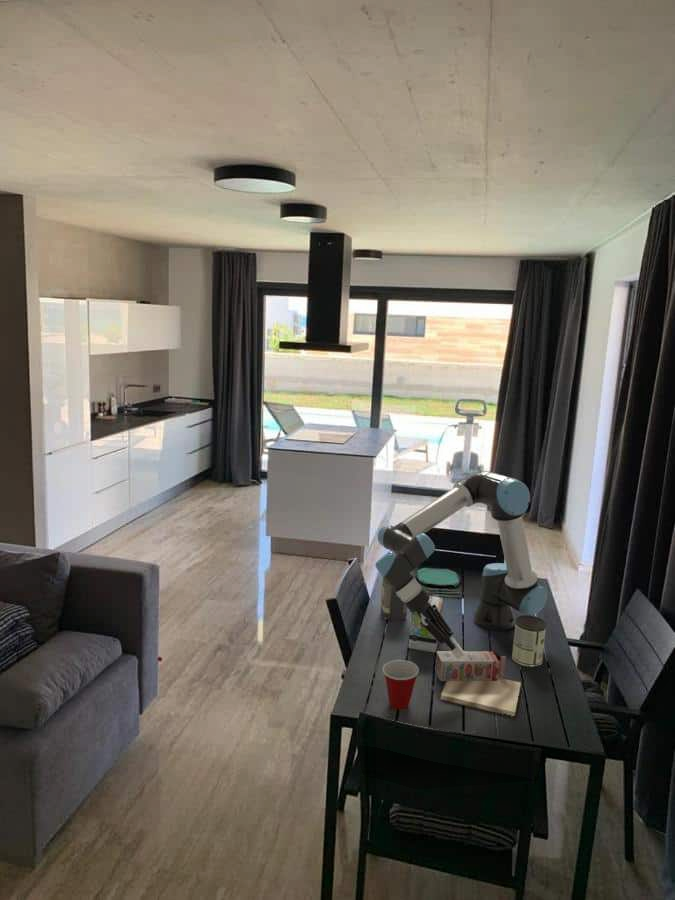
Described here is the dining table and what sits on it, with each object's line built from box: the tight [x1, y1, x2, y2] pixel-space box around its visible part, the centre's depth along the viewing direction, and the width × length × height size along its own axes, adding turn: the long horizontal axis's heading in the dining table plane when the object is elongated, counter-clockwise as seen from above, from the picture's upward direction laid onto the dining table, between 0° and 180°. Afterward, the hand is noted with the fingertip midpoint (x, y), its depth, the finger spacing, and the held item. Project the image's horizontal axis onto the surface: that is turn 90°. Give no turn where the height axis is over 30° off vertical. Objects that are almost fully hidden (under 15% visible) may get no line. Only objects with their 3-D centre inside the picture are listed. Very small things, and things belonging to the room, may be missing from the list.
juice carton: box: [434, 650, 507, 682], centre depth 215 cm, size 7×7×22 cm
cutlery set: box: [415, 567, 462, 599], centre depth 294 cm, size 20×30×2 cm, turn 177°
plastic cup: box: [382, 659, 420, 711], centre depth 199 cm, size 11×11×12 cm
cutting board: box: [440, 677, 522, 717], centre depth 208 cm, size 22×18×2 cm
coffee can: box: [511, 614, 548, 668], centre depth 230 cm, size 10×10×14 cm
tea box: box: [408, 596, 444, 653], centre depth 239 cm, size 15×10×15 cm, turn 166°
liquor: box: [380, 553, 408, 621], centre depth 257 cm, size 9×9×30 cm
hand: (461, 655), depth 209 cm, fingers closed
